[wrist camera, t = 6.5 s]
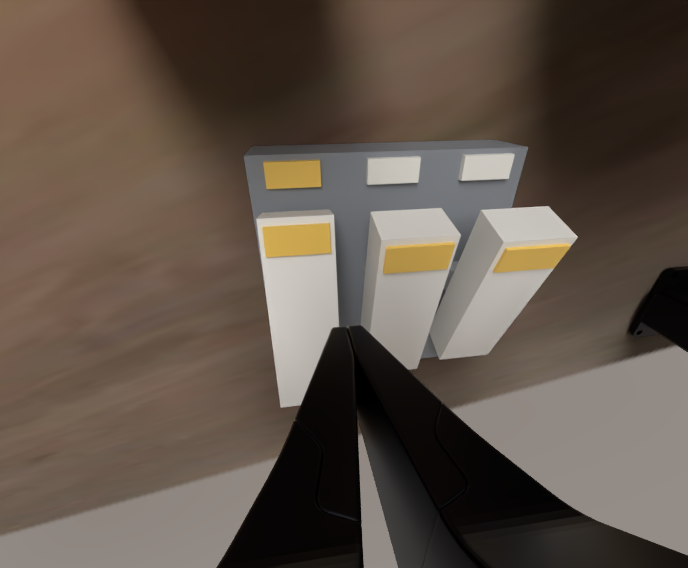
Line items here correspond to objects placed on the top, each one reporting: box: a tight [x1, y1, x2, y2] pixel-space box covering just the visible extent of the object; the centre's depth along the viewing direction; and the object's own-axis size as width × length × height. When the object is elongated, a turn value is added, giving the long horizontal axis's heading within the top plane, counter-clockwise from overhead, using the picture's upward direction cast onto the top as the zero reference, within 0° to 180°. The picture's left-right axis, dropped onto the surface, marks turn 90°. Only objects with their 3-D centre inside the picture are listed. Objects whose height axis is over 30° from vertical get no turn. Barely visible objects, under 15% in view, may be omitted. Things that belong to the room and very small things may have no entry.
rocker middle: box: [361, 208, 461, 370], centre depth 15 cm, size 3×9×2 cm, turn 0°
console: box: [244, 140, 528, 359], centre depth 18 cm, size 13×13×4 cm
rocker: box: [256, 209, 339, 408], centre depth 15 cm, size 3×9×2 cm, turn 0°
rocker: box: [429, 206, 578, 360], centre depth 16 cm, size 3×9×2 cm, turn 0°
